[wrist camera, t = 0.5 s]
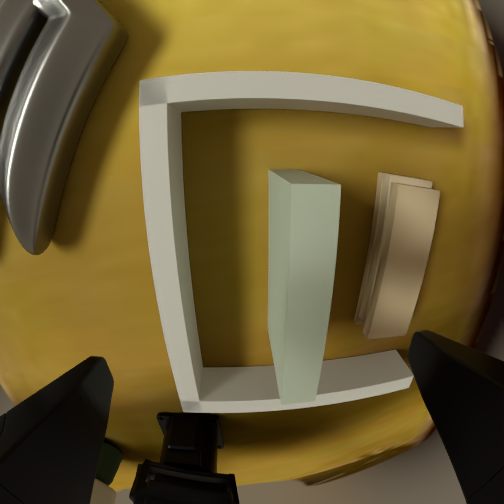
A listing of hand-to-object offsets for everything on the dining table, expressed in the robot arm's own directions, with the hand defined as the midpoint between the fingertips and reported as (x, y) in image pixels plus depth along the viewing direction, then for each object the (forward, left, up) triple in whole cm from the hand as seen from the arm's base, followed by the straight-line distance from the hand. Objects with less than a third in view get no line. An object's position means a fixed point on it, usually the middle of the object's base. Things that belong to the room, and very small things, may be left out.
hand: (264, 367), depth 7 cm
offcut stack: (-2, -11, -13) cm, 17 cm away
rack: (-2, -4, -13) cm, 14 cm away
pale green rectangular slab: (-2, -3, -13) cm, 13 cm away
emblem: (+13, +21, -14) cm, 29 cm away
